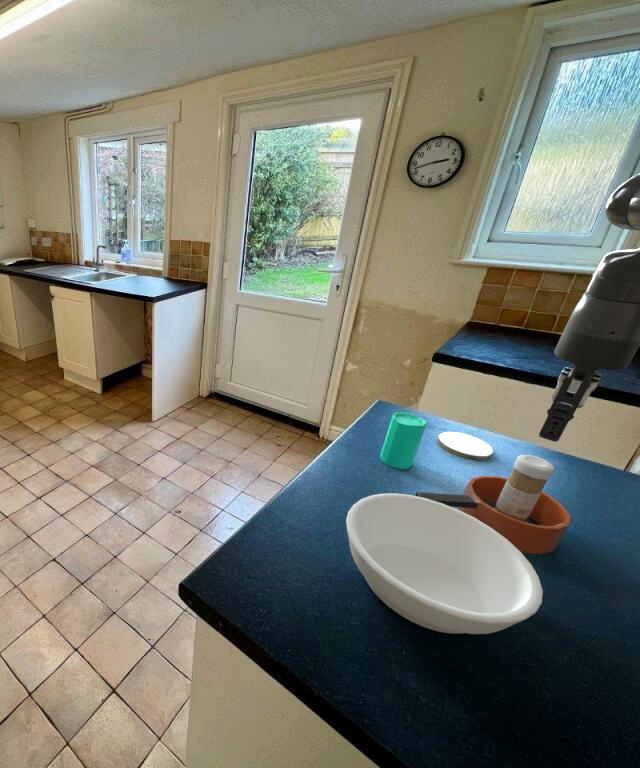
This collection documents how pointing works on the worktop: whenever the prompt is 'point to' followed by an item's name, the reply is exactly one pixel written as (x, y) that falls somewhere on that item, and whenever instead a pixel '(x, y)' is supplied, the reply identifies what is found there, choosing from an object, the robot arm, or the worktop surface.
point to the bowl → (441, 565)
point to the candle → (402, 440)
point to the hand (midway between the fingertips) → (553, 429)
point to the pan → (516, 532)
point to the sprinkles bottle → (524, 486)
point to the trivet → (465, 445)
